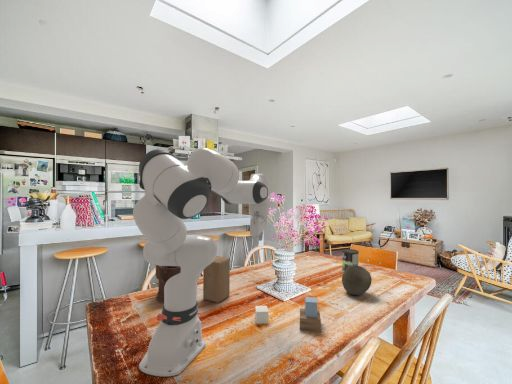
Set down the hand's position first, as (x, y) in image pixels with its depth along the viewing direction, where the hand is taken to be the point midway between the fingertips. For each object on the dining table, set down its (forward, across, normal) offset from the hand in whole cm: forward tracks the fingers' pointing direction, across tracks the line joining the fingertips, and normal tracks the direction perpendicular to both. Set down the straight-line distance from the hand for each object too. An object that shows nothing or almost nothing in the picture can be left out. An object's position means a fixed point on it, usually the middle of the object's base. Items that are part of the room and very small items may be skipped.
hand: (258, 242), depth 105 cm
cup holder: (+32, +8, +46) cm, 57 cm away
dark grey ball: (+32, +32, -47) cm, 65 cm away
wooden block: (+32, +13, +24) cm, 42 cm away
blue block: (+27, -3, -23) cm, 36 cm away
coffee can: (+31, +69, -51) cm, 92 cm away
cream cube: (+32, -3, -2) cm, 33 cm away
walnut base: (+32, -3, -22) cm, 39 cm away
